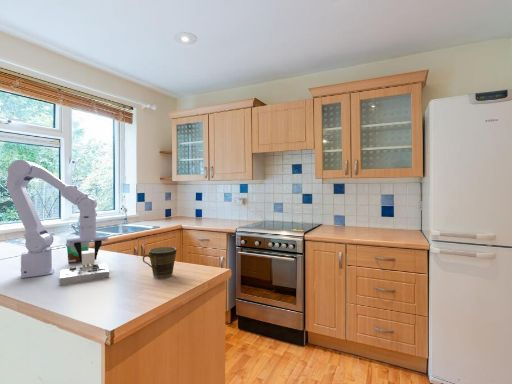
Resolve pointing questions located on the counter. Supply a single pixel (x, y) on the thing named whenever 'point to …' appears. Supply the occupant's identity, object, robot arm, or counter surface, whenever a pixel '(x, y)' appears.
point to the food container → (75, 252)
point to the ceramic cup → (162, 261)
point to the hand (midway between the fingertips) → (88, 260)
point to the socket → (83, 274)
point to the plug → (88, 258)
